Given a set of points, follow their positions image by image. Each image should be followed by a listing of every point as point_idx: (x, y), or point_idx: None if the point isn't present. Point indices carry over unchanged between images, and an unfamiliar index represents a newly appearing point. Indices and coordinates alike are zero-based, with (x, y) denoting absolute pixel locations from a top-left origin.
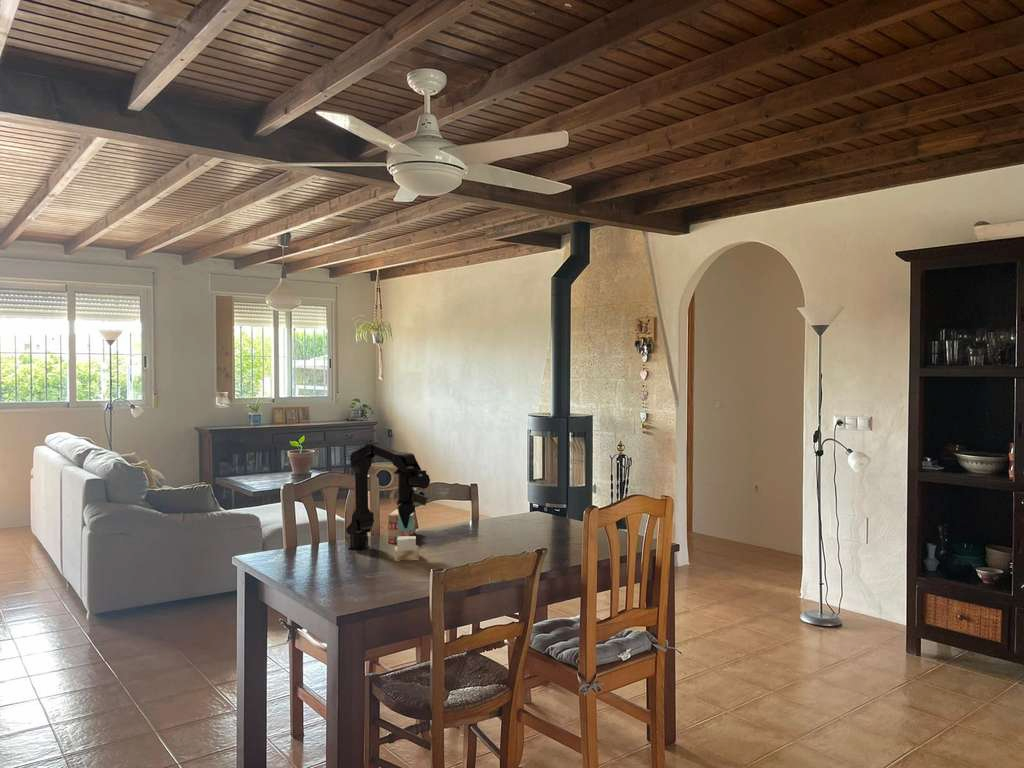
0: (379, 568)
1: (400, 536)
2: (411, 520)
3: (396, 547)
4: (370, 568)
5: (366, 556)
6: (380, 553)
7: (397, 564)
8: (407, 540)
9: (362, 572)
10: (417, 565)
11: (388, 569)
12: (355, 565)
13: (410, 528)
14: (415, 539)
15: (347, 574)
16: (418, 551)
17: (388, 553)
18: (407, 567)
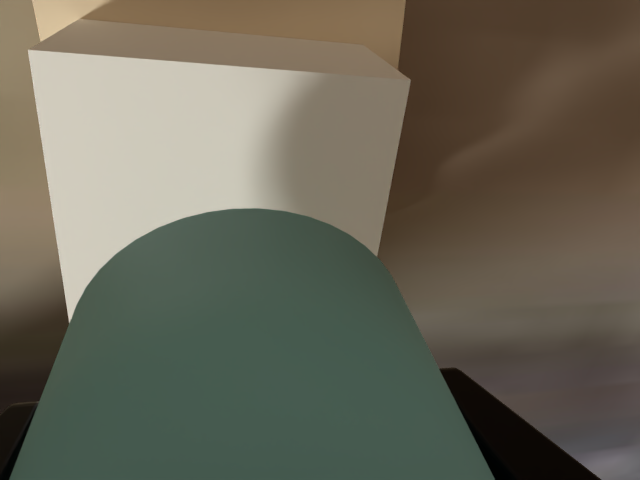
0: (542, 332)
1: (69, 322)
2: (443, 436)
3: None
4: (517, 382)
5: None
6: (12, 361)
7: (472, 214)
8: (382, 216)
9: (593, 411)
10: (581, 26)
11: (597, 276)
12: None
13: (387, 283)
14: (359, 80)
15: (596, 467)
16: (402, 3)
17: (5, 298)
18: (608, 131)
